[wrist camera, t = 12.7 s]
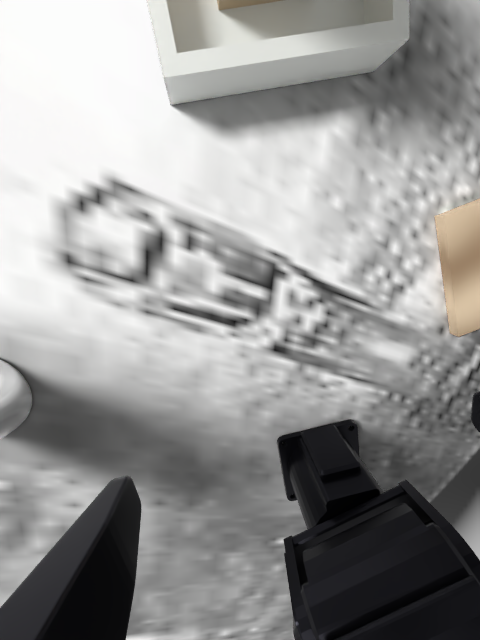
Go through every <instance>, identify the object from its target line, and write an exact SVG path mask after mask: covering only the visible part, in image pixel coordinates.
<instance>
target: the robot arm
mask: <svg viewBox="0 0 480 640" xmlns="http://www.w3.org/2000/svg"><path fill="white" fill-rule="evenodd" d="M471 420H472V423H473V425H474V426H475V428H476V429H477V430H478V431H479V432H480V391H477V392H475V393H474V395H473V400H472V411H471ZM350 426H351V427H350ZM349 427H350V428H349ZM283 442H285V443H284V444H282V443H283ZM277 445H278V451H279V456H280V462H281V468H282V474H283V479H284V485H285V491H286V495H287V498H288V500H290V501H295V500H298V503H299V506H300V509H301V512H302V515H303V518H304V521H305V523H306V526H307V529H308V530H306V531H304V532H302V533H299V534H297V535H295V536H293V537H292V536H289V537H287V538H285V539H284V545H285V551H286V553H284V555H285V562H286V569H287V576H288V583H289V590H290V596H291V603H292V610H293V632H294V638H295V640H480V560H479V559H478V557H477V556H476V555H475V553H474V552H473V551H472V549H471V548H470V547H469V545H468V544H467V543H466V542H465V540H464V539H463V538H462V537H461V536H460V534H459V533H458V532H457V531H456V530H455V529H454V528H453V526H452V525H451V524H450V523H449V522H448V521H447V520H446V519H445V518H444V517H443V516H442V515H441V514H440V513H439V512H438V511H437V510H436V509H435V508H434V507H433V506H432V505H431V504H430V503H429V502H428V501H427V500H426V499H425V498H424V497H423V496H422V495H421V494H420V493H419V492H418V491H417V490H416V489H415V488H414V487H413V486H412V485H411V484H410V483H409V482H408V481H407V480H405V481H403V482H401V483H399V485H398V486H396V487H394V488H392V489H390V490H388V491H386V492H383V491H382V489H381V488H380V487H379V485H378V484H377V482H376V481H375V479H374V478H373V476H372V475H371V473H370V472H369V471H368V469H367V468H366V466H365V465H364V463H363V462H362V460H361V459H360V457H359V444H358V429H357V425H356V423H355V422H354V421H353V420H346V421H342V422H338V423H334V424H330V425H326V426H321V427H317V428H313V429H309V430H305V431H301V432H296V433H292V434H288V435H284V436H281V437H279V438H278V440H277ZM140 520H141V501H140V498H139V495H138V493H137V490H136V488H135V485H134V483H133V480H132V478H131V477H130V476H124V477H120V478H116V479H113V480H111V481H110V482H109V483H108V485H107V486H106V487H105V488H104V489H103V490H102V492H101V493H100V494H99V495H98V496H97V497H96V498H95V500H94V501H93V502H92V503H91V504H90V505H89V506H88V508H87V509H86V510H85V511H84V512H83V513H82V515H81V516H80V517H79V518H78V519H77V520H76V521H75V523H74V524H73V525H72V526H71V527H70V528H69V529H68V531H67V532H66V533H65V534H64V535H63V536H62V538H61V539H60V540H59V541H58V542H57V543H56V544H55V546H54V547H53V548H52V549H51V550H50V551H49V552H48V554H47V555H46V556H45V557H44V558H43V559H42V560H41V562H40V563H39V564H38V565H37V566H36V567H35V569H34V570H33V571H32V572H31V573H30V574H29V575H28V577H27V578H26V579H25V580H24V581H23V582H22V583H21V585H20V586H19V587H18V588H17V589H16V590H15V592H14V593H13V594H12V595H11V596H10V597H9V598H8V600H7V601H6V602H5V603H4V604H3V605H2V606H1V608H0V640H126V635H127V629H128V623H129V617H130V612H131V606H132V600H133V594H134V587H135V579H136V569H137V556H138V544H139V532H140Z"/></svg>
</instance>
